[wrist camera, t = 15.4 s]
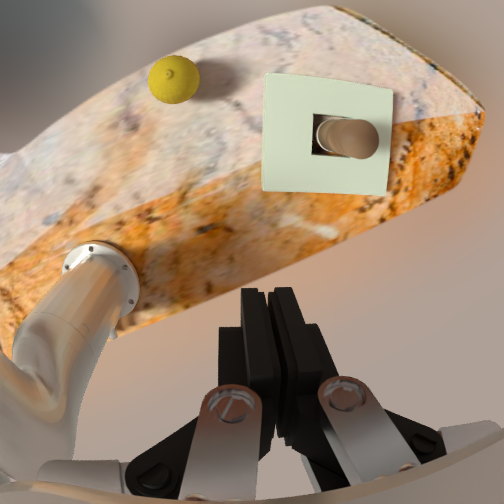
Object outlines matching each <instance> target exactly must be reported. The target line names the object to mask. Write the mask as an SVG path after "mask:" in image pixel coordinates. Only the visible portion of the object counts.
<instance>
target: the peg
mask: <svg viewBox="0 0 504 504" xmlns="http://www.w3.org/2000/svg"><path fill="white" fill-rule="evenodd" d="M313 137H314V140H315V142H316V143H317V144H318V145H320V146H321V147H322V148H323V149H324V150H327V151H330V152H335V153H339V154H342V155H346V156H349V157H353V158H356V159H367V158H369V157H371V156H372V155H373V154H374V153H375V152H376V150H377V148H378V145H379V135H378V132H377V130H376V128H375V127H374V126H373V125H372V124H371V123H370V122H368V121H366V120H362V119H345V120H334V119H330V120H326V121H323V122H322V123H320V124H318V125H317V126H316V127H315V129H314V132H313Z"/></svg>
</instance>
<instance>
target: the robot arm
mask: <svg viewBox="0 0 504 504" xmlns="http://www.w3.org/2000/svg"><path fill="white" fill-rule="evenodd" d="M126 265H127V266H126ZM139 294H140V282H139V277H138V274H137V272H136V270H135V268H134V266H133V264H132V263H131V261H130V260H129V259H128V258H127V257H126V256H125V255H124V254H123V253H122V252H121V251H120V250H118V249H116V248H115V247H113V246H111V245H109V244H106V243H103V242H98V241H90V242H84V243H82V244H80V245H78V246H76V247H75V248H74V249H72V250H71V252H70V253H69V254H68V255H67V257H66V258H65V260H64V263H63V267H62V276H61V277H60V279H59V280H58V281H57V282H56V283H55V284H54V285H53V286H52V287H51V289H50V290H49V291H48V292H47V293H46V294H45V295H44V297H43V298H42V299H41V300H40V301H39V302H38V304H37V305H36V306H35V307H34V308H33V310H32V311H31V312H30V313H29V314H28V316H27V317H26V318H25V319H24V321H23V322H22V323H21V324H20V326H19V328H18V329H17V332H16V334H15V337H14V341H13V346H12V361H11V360H10V359H9V358H8V357H7V356H6V355H5V354H4V353H3V352H2V351H1V350H0V504H504V428H502V429H501V427H500V426H499V425H498V424H497V423H495V422H492V421H479V422H474V423H469V424H463V425H456V426H449V427H442V428H440V429H439V430H438V431H435V430H433V429H432V428H430V427H427V426H425V425H422V424H420V423H417V422H415V421H412V420H410V419H407V418H405V417H402V416H400V415H397V414H395V413H392V412H390V411H388V410H386V409H383V408H382V406H381V405H380V403H379V402H378V400H377V399H376V397H375V396H374V395H373V393H372V392H371V390H370V389H369V388H368V387H367V385H366V384H365V383H363V382H361V381H360V380H358V379H356V378H353V377H349V376H339V374H338V372H337V369H336V367H335V365H334V362H333V360H332V357H331V355H330V353H329V350H328V348H327V345H326V343H325V341H324V338H323V336H322V334H321V332H320V329H319V327H318V325H317V324H305V321H304V318H303V316H302V313H301V310H300V308H299V305H298V303H297V300H296V298H295V295H294V292H293V289H292V288H291V287H275V289H274V292H269V293H268V306H267V304H266V299H265V295H264V292H258V289H257V288H241V327H219V352H218V353H219V355H218V387H216V388H214V389H212V390H211V391H209V392H208V393H207V394H206V395H205V397H204V399H203V401H202V405H201V408H200V412H199V416H198V417H196V418H195V419H193V420H192V421H191V422H189V423H188V424H186V425H185V426H183V427H182V428H180V429H179V430H178V431H176V432H174V433H173V434H172V435H170V436H169V437H167V438H165V439H164V440H162V441H161V442H159V443H158V444H157V445H155V446H153V447H152V448H150V449H149V450H147V451H145V452H144V453H142V454H140V455H139V456H137V457H136V458H135V459H133V460H132V461H131V462H124V463H120V462H119V460H72V458H73V454H74V448H75V440H76V431H77V422H78V415H79V411H80V406H81V403H82V399H83V396H84V393H85V390H86V388H87V385H88V382H89V380H90V378H91V375H92V373H93V371H94V368H95V366H96V363H97V361H98V358H99V357H100V354H101V352H102V350H103V348H104V346H105V343H106V341H107V339H108V337H109V338H110V339H116V338H117V337H118V335H117V331H116V329H115V326H116V324H117V322H118V320H119V319H120V318H122V317H124V316H126V315H128V314H129V313H130V312H131V311H132V310H133V308H134V307H135V305H136V303H137V301H138V298H139ZM275 423H276V429H277V435H278V437H279V438H282V437H284V440H285V445H286V446H292V449H294V450H295V451H297V452H299V453H301V459H302V462H303V465H304V467H305V470H306V472H307V474H308V477H309V479H310V481H311V484H312V486H313V488H314V491H315V494H308V495H302V496H294V497H286V498H277V499H266V500H255V497H256V484H257V472H258V462H259V461H260V459H262V458H263V457H264V456H265V455H266V454H267V453H268V452H269V451H270V447H271V440H272V438H273V437H274V430H275ZM8 476H9V477H11V478H13V479H15V480H17V481H16V482H11V481H10V479H9V477H8Z"/></svg>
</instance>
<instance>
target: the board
mask: <svg viewBox="0 0 504 504" xmlns="http://www.w3.org/2000/svg"><path fill="white" fill-rule="evenodd" d="M392 112H393V90H389V89H385V88H380V87H375V86H370V85H365V84H360V83H354V82H348V81H342V80H335V79H328V78H320V77H312V76H302V75H291V74H278V73H266V74H265V75H264V91H263V132H262V170H261V188H262V190H263V191H280V192H317V193H341V194H360V195H376V196H386V188H387V179H388V169H389V159H390V147H391V132H392ZM313 115H324V116H333V117H342V118H345V119H362V120H366V121H368V122H370V123H371V124H372V125H373V126H374V127H375V128H376V130H377V132H378V135H379V145H378V148H377V150H376V152H375V153H374V154H373V155H372V156H371V157H369V158H367V159H356V158H353V157H349V156H346V155H343V156H340V155H327V154H312V153H311V152H312V131H313Z"/></svg>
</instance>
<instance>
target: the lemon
mask: <svg viewBox="0 0 504 504" xmlns="http://www.w3.org/2000/svg"><path fill="white" fill-rule="evenodd" d="M199 83H200V74H199V71H198V69H197V67H196V65H195V64H194V63H193V62H192V61H191V60H189V59H188V58H185V57H182V56H176V55H173V56H167V57H165V58H162V59H161V60H159V61H158V62H156V63H155V65H154V66H153V67H152V69H151V70H150V73H149V76H148V85H149V89H150V91H151V93H152V94H153V96H154V97H156V98H157V99H158V100H160V101H161V102H164V103H168V104H178V103H182V102H184V101H186V100H188V99H189V98H191V97H192V96H193V95H194V94H195V92H196V91H197V89H198V86H199Z"/></svg>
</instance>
